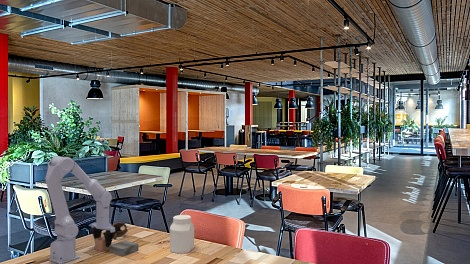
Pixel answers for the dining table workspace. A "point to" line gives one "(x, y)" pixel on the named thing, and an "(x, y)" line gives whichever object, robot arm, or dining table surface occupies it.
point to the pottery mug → (119, 230)
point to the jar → (181, 234)
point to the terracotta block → (100, 244)
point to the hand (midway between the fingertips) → (103, 245)
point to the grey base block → (123, 248)
